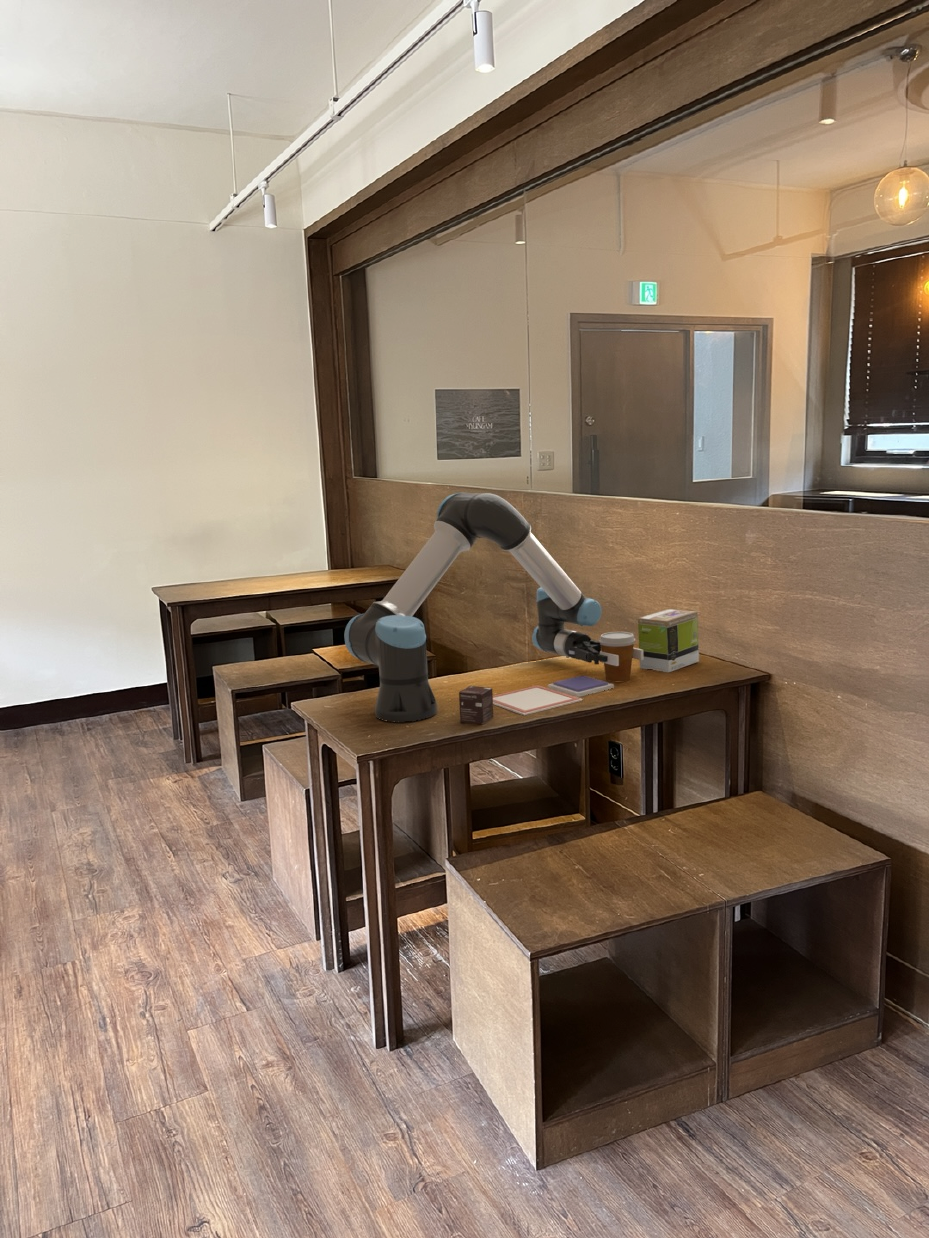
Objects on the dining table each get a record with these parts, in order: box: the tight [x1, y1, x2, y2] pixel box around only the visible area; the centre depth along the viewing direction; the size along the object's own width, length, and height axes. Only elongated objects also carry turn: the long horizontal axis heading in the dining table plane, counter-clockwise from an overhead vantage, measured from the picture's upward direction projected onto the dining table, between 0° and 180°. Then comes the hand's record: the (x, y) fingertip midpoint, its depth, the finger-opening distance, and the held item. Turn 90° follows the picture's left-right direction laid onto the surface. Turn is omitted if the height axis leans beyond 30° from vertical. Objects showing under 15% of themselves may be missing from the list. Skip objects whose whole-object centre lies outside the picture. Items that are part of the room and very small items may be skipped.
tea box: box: [637, 608, 700, 673], centre depth 245 cm, size 15×10×15 cm, turn 133°
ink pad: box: [547, 674, 615, 698], centre depth 228 cm, size 12×12×2 cm
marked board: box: [493, 684, 583, 716], centre depth 220 cm, size 18×18×1 cm
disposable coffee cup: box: [598, 631, 636, 682], centre depth 234 cm, size 10×10×12 cm
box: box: [458, 685, 494, 725], centre depth 206 cm, size 6×6×7 cm
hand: (630, 657), depth 230 cm, fingers closed on disposable coffee cup, 8 cm apart
